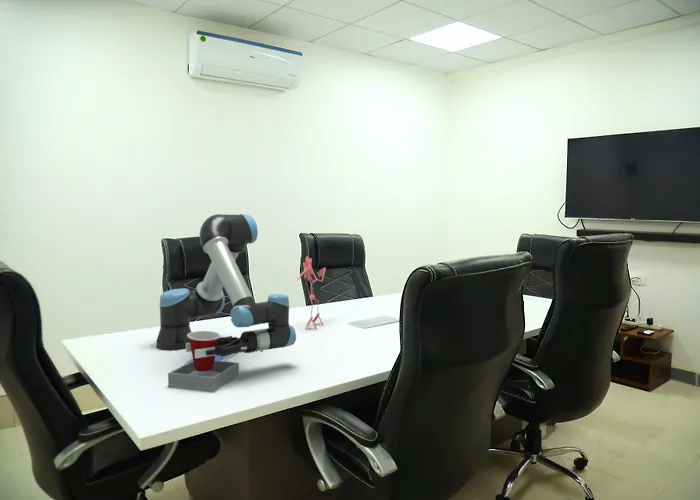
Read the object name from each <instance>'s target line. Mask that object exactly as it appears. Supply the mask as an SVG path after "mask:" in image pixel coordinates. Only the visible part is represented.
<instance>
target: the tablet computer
mask: <svg viewBox="0 0 700 500" xmlns="http://www.w3.org/2000/svg"><path fill="white" fill-rule="evenodd" d="M237 354H238V353H235V354H230V355H226V356H222V357H221V356H220V355H218V356H217V355H215V359H214V361H224V362H226V360H228V359H230V358H231V357H234V356H235V355H237ZM191 361H193V358H192V359H189V360H187V361H185V362H184V365H185V364H187V363H189V362H191Z"/></svg>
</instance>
